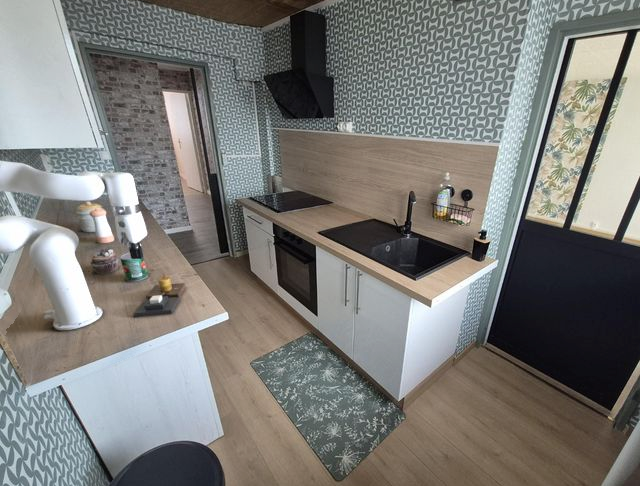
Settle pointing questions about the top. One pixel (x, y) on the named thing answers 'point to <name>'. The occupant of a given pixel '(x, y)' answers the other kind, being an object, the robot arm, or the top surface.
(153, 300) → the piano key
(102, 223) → the salt shaker
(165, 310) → the dark gray stepped base
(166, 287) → the yellow rounded cylinder
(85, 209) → the jar
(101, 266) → the cupcake
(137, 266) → the canned tomato
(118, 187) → the robot arm
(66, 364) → the top surface
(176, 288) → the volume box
